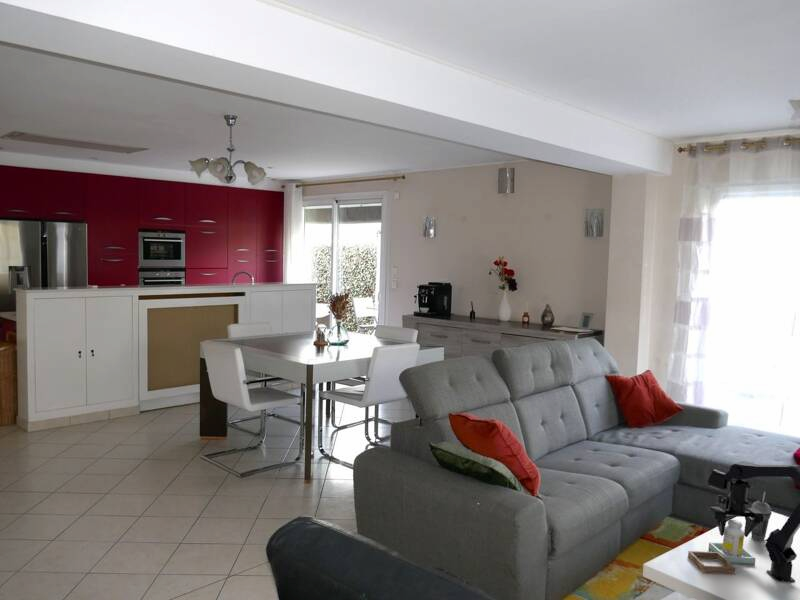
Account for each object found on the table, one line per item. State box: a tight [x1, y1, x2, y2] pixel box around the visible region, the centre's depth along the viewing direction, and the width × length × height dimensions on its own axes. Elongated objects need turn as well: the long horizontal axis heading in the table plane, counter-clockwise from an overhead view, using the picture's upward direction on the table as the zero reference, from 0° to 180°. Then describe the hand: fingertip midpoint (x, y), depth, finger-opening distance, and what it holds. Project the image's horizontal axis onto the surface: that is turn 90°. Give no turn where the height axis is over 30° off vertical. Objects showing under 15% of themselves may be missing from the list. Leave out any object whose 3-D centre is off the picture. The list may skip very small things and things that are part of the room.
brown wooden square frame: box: [687, 550, 737, 576], centre depth 231 cm, size 11×11×2 cm
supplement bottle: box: [722, 518, 745, 557], centre depth 239 cm, size 7×7×13 cm
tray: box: [708, 541, 756, 566], centre depth 239 cm, size 11×11×2 cm
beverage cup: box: [750, 491, 772, 542], centre depth 255 cm, size 7×7×20 cm
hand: (733, 535), depth 239 cm, fingers open, 9 cm apart
